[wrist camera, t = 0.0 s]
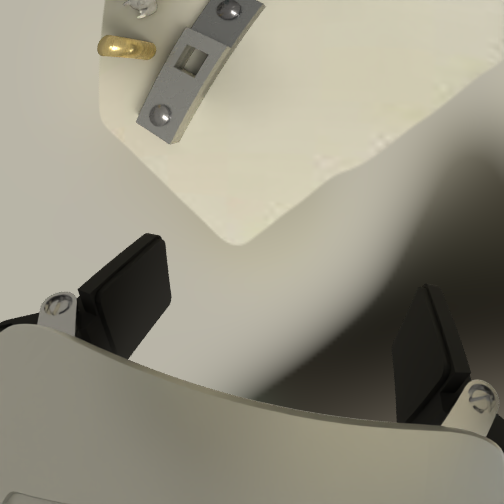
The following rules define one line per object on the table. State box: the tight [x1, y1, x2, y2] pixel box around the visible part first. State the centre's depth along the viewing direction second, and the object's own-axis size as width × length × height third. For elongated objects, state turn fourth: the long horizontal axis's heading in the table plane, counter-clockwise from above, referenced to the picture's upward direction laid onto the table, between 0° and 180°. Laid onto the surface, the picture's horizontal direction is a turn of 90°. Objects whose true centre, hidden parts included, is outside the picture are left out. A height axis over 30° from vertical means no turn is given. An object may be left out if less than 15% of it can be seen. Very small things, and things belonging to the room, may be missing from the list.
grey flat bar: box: [136, 0, 265, 144], centre depth 33 cm, size 24×7×3 cm, turn 147°
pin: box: [97, 35, 156, 60], centre depth 30 cm, size 3×3×10 cm
